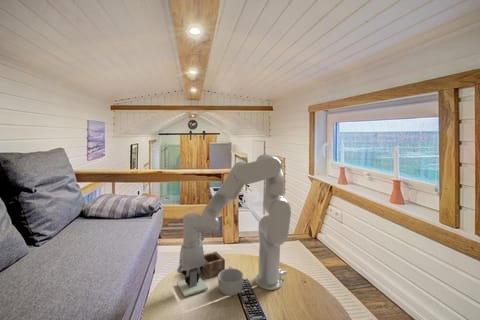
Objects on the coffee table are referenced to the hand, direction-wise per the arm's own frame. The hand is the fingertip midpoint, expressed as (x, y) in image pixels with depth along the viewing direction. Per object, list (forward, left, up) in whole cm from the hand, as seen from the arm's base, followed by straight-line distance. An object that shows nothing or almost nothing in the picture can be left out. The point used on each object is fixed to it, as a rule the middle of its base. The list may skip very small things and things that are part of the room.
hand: (192, 282), depth 108 cm
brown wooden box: (-13, -8, -4) cm, 16 cm away
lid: (0, 0, -2) cm, 2 cm away
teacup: (-15, +8, -4) cm, 17 cm away
